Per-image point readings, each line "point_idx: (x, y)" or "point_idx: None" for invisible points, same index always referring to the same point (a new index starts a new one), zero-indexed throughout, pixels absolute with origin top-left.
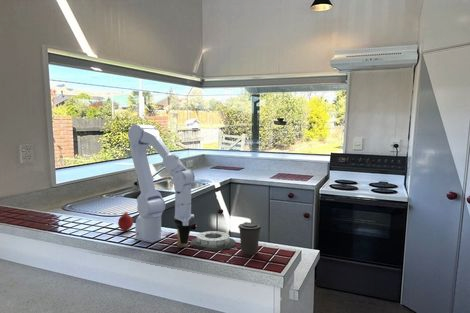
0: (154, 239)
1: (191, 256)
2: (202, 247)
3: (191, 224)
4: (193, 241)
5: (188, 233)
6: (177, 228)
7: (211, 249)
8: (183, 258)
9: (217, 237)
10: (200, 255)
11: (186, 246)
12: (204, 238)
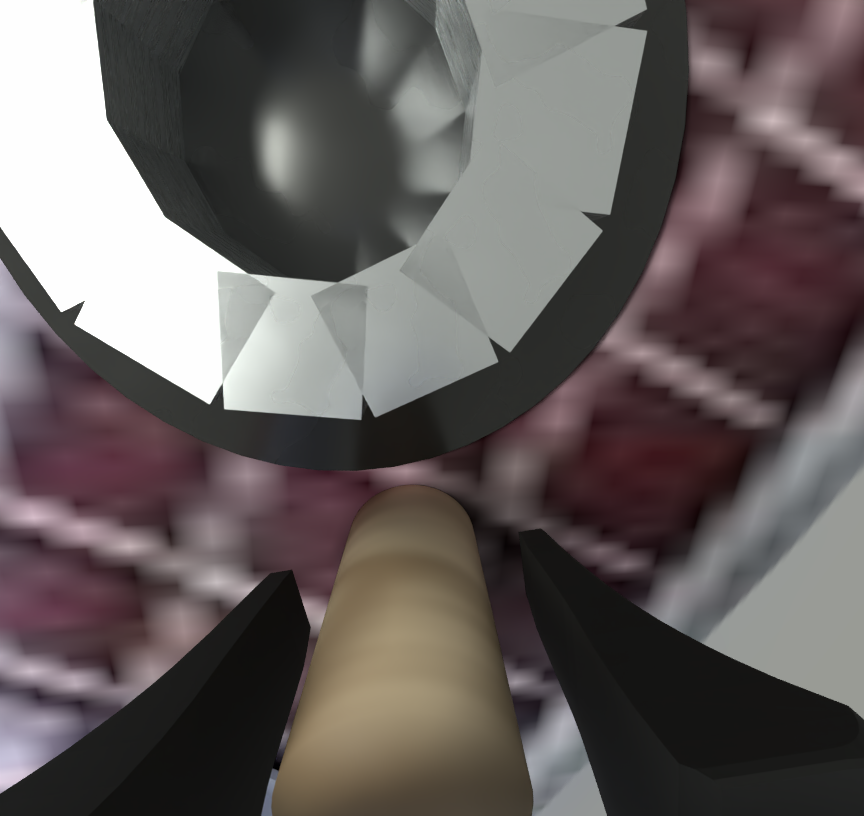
0: (269, 801)
1: (789, 440)
2: (551, 316)
3: (814, 798)
4: (292, 433)
5: (646, 623)
6: (263, 793)
7: (653, 188)
8: (819, 512)
9: (168, 11)
10: (790, 343)
11: (457, 502)
12: (472, 287)
